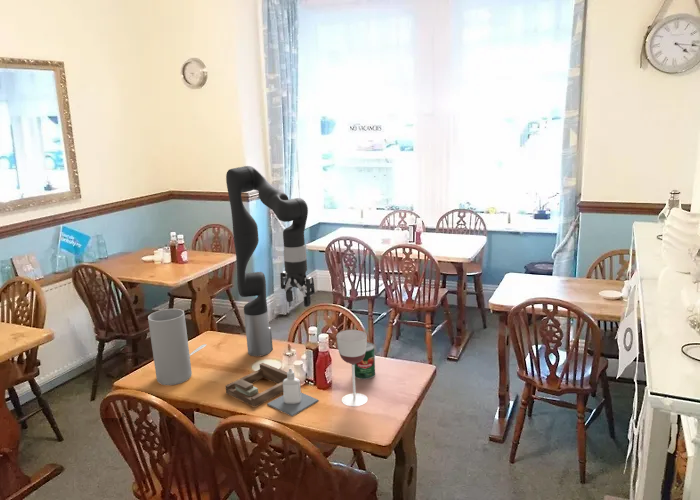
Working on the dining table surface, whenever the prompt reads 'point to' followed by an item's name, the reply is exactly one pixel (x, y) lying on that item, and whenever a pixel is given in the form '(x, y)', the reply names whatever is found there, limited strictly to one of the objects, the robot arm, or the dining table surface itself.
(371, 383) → the dining table surface
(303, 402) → the grey rubber mat
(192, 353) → the butter knife
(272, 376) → the frame
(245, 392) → the offcut stack
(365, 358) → the canned tomato
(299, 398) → the eye dropper bottle
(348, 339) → the wineglass
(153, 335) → the cylinder vase
